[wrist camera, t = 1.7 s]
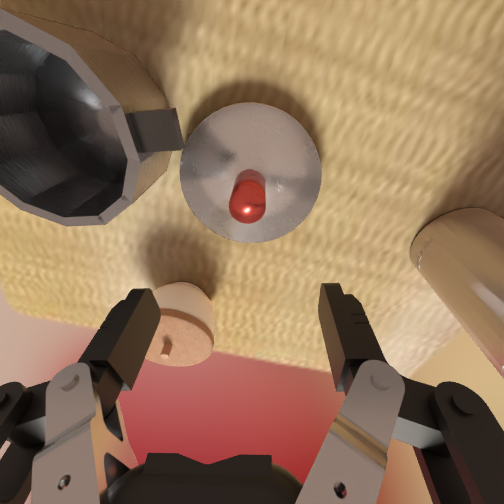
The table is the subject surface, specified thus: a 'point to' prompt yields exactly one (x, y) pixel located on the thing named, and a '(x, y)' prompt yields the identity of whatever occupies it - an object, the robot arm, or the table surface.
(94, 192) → the pot
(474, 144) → the table surface
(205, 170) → the lid
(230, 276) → the table surface
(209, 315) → the lidded jar
